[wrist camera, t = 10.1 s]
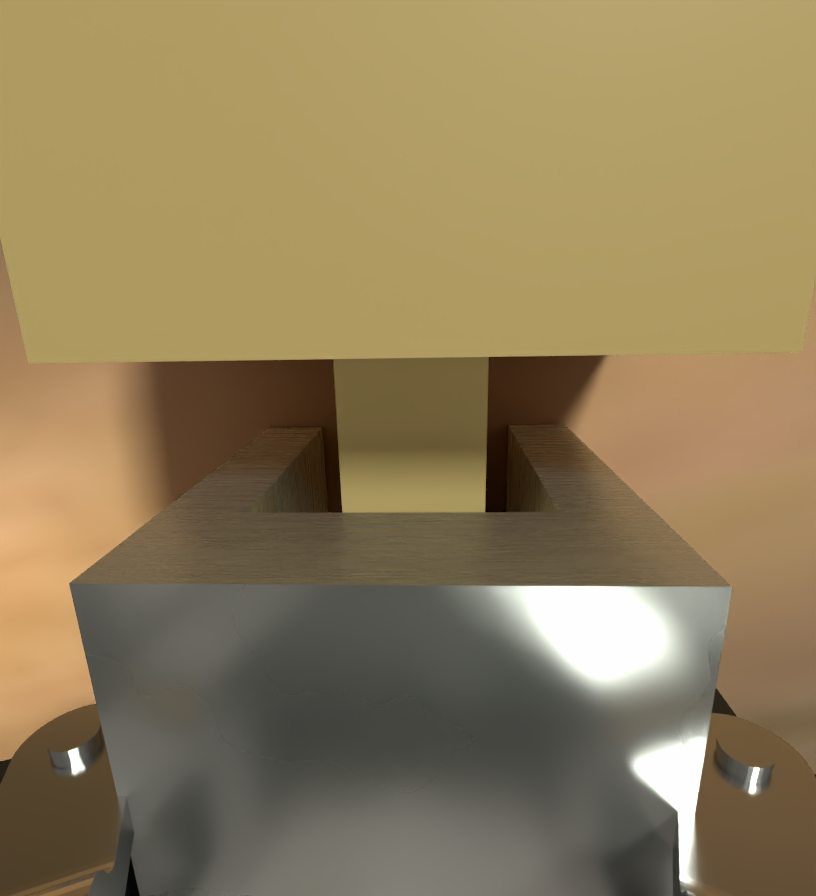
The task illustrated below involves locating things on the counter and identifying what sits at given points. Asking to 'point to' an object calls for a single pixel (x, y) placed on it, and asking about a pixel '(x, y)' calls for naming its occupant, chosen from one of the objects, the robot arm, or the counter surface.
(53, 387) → the counter surface
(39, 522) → the counter surface
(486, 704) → the slotted grey block
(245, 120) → the yellow t-shaped block
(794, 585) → the counter surface
